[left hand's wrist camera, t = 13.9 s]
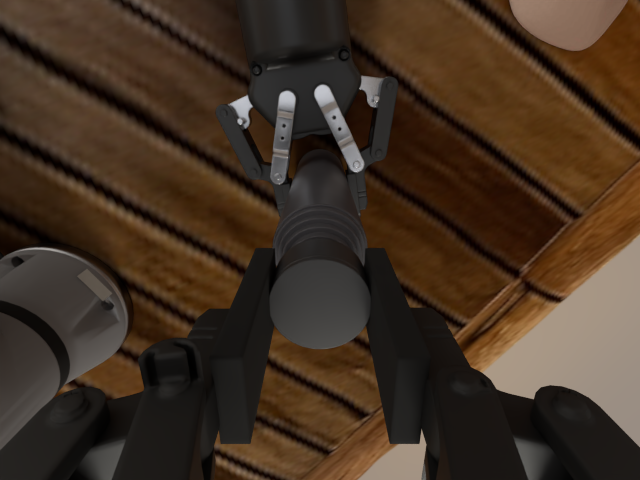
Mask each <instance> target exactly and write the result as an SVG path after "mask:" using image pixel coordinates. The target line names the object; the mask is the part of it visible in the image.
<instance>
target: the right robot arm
mask: <svg viewBox="0 0 640 480" xmlns="http://www.w3.org/2000/svg"><path fill="white" fill-rule="evenodd" d="M235 1H236V6H237V10H238V15H239V20H240V25H241V30H242V35H243V40H244V45H245V50H246V54H247V59H248V64H249V69H250V84H249V88H248V95H247V96H245V97H243V98H240V99H238V100H236V101H234V102H232V103H230V104H222V105H219V106H218V107H217V109H216V116H217V118H218V120H219V122H220V124H221V126H222V128H223V130H224V132H225V133H226V135H227V137H228V139H229V141H230V143H231V145H232V147H233V149H234V151H235V153H236V155H237V157H238V159H239V160H240V162H241V164H242V166H243V168H244V170H245V172H246V174H247V176H248V177H249V178H250V179H253V180H256V179H261V180H266V181H268V182H270V183H271V184H272V185H273V188H274V192H275V197H276V202H277V207H278V212H279V216H280V217H281V214H282V211H283V208H284V205H285V202H286V199H287V196H288V193H289V190H290V187H291V184H292V178H289V176H288V170H289V162H290V155H291V150H292V144H293V140H295V139H302V138H304V137H306V136H308V135H310V134H316V135H326V134H332V133H333V135H334V137H335V139H336V141H337V143H338V145H339V147H340V149H341V151H342V153H343V156H344V158H345V160H346V162H347V169H348V170H345V172H346V178H347V181H348V184H349V187H350V190H351V193H352V196H353V199H354V202H355V205H356V208H357V211H358V214H359V217H361V214H360V210H362V209H366V206H367V194H366V185H365V177H364V172H365V169H366V167H367V166H368V165H370V164H372V163H373V162H375V161H380V160H383V159H384V158H385V156H386V154H387V148H388V142H389V136H390V131H391V125H392V119H393V113H394V107H395V102H396V96H397V90H398V82H397V80H396V79H395V78H394V77H385V78H376V77H368V76H361V74H360V71H359V70H358V68H357V67H356V65H355V63H354V61H353V58H352V53H351V44H350V35H349V26H348V17H347V8H346V0H235ZM359 89H360V90H362V91H363V92H364V93H365V96H366V103H367V105H368V106H370V107H373V113H372V120H371V126H370V133H369V140H368V145H367V146H365V147H363V148H361V149H359V150H358V148H357V146H356V144H355V141H354V139H353V137H352V135H351V132H350V130H349V128H348V126H347V124H346V122H345V120H344V119H345V117H346V115H347V113H348V111H349V109H350V107H351V105H352V103H353V101H354V99H355V97H356V95H357V93H358V91H359ZM253 108H255V109H256V110H257V111H258V112H259V113H260V114H261V115H262V116H263V117H264V118H265V119H266V120H267V121H268V122H269V123H270V124H271V125H272V126H273V127H274V128H275V137H274V145H273V159H272V163H269V162H264V161H263V159H262V157H261V154H260V152H259V150H258V148H257V146H256V144H255V142H254V140H253V138H252V136H251V134H250V132H249V130H248V127H249V126H250V125H251V123H252V118H251V110H252V109H253Z"/></svg>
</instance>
